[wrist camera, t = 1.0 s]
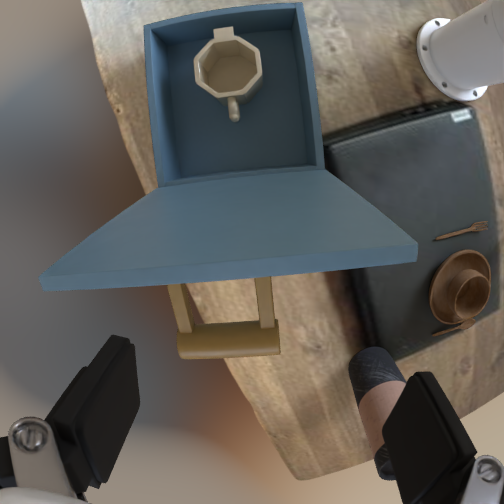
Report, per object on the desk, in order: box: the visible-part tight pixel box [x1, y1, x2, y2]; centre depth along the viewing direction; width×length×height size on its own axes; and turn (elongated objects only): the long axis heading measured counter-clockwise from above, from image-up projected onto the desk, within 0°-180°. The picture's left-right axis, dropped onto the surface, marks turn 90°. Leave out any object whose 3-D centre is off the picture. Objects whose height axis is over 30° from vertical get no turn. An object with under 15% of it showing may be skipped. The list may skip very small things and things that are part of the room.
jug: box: [193, 26, 263, 124], centre depth 30 cm, size 10×7×6 cm, turn 6°
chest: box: [144, 2, 325, 188], centre depth 31 cm, size 19×17×7 cm
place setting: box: [429, 221, 491, 336], centre depth 37 cm, size 18×20×6 cm
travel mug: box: [348, 347, 407, 480], centre depth 35 cm, size 8×8×20 cm
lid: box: [39, 170, 418, 359], centre depth 22 cm, size 19×17×6 cm
